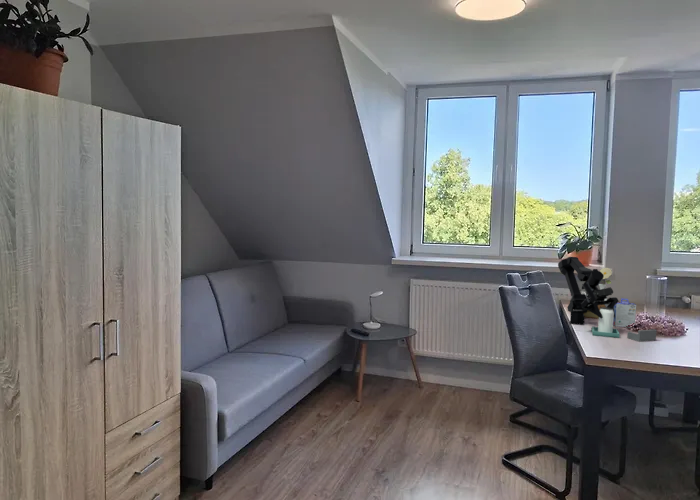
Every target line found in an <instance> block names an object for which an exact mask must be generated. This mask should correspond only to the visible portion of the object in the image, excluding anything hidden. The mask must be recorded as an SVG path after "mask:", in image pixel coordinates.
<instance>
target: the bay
mask: <svg viewBox="0 0 700 500" xmlns="http://www.w3.org/2000/svg"><path fill="white" fill-rule="evenodd" d="M626 338H627V339H628V340H633V341H636V342H639V343H640V342H653V341H657V329H642V330H641V329H640V330H639V329H638V330H637V333H634V332H631V331H627V337H626Z"/></svg>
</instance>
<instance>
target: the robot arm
mask: <svg viewBox="0 0 700 500" xmlns="http://www.w3.org/2000/svg"><path fill="white" fill-rule="evenodd" d="M557 267H558V270H559V271H560V273H561V274H563V275H564V276H565V280H566V282H567V284H566V285H567V286H568V289H569V292H570V297H571V298H570V300H569V304H568V305H567V312H570V319H569V324H573V325H582V326H583V325H584V324H585V319H586V318H585V315H584V313H587V310H589V311H590V312H592V313H594V314H595V315H597V316H598V317H600V318H603V316H602V314H601V312H600V310H599V308H598V305H604V306H605V307H606V308H612V309H613V312H614V305H616V304H617V303H620V302H619V301H620V300H619V299H618V297H615V296H614V297H612V295H613V294H614V290H613V288H612V287H605V289H601V290H600V288H599V284H601V282H602V281H603V280H604V279H603V278H604V275H603V274H602V273H601V272H600V270H598V268H593V269H590V268H587V267H586V266H585V265H584V264H583V263H582V261H580V260H579V257H578V256H568V257H566V258H564V259H561V260H559V262H558V263H557ZM575 272H576V273H577V278H578V280H579V282H583V283H582V285H581V289H580V287H579V284H578V281H577V279H576V275H575ZM581 290H584V291H585V292H586V294H585V293H581ZM608 296H611V297H608ZM604 299H607V300H606V301H604ZM614 317H615V312H614Z"/></svg>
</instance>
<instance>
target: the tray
mask: <svg viewBox="0 0 700 500" xmlns="http://www.w3.org/2000/svg"><path fill="white" fill-rule="evenodd" d="M591 334H592V336H593V337H594V336H595V337H605V338H615V339H620V332H619V330H618V328H613V332H612V333H608V332H598V326H591Z"/></svg>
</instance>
